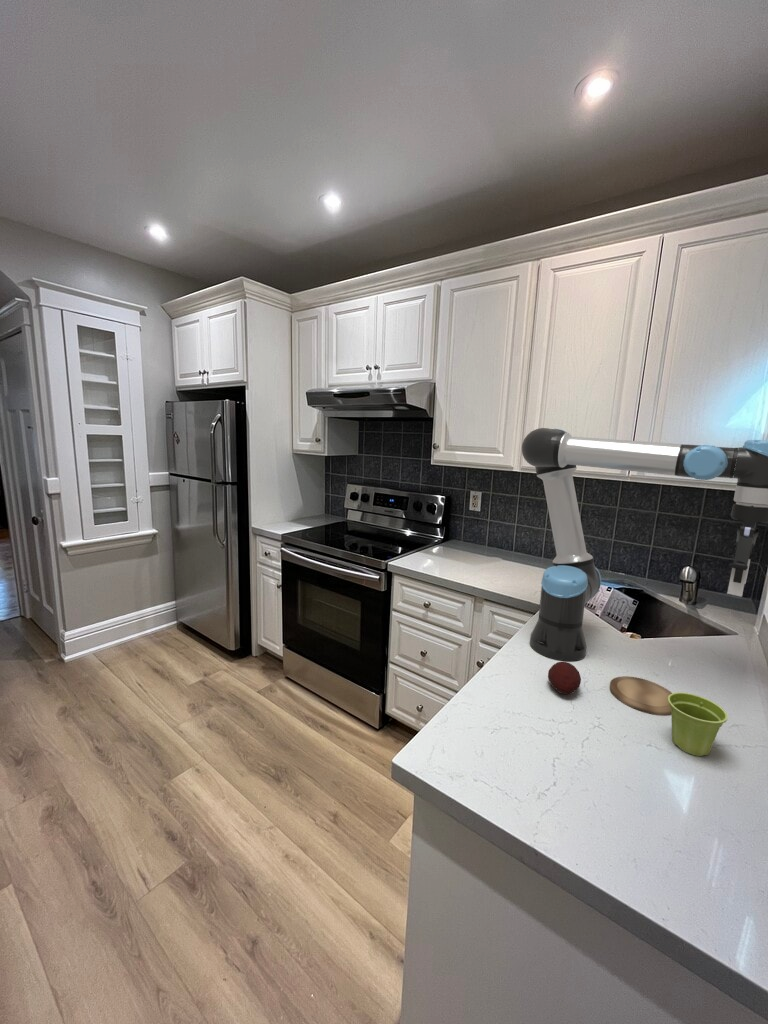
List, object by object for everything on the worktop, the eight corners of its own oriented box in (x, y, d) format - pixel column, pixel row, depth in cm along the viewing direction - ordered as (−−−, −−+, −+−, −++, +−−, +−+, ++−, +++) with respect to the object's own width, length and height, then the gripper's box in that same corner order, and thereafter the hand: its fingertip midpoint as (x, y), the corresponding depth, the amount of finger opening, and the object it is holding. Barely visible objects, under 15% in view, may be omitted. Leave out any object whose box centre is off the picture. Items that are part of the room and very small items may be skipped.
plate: (617, 707, 95) (618, 703, 95) (603, 675, 108) (604, 671, 108) (689, 720, 91) (689, 716, 91) (665, 686, 105) (666, 681, 104)
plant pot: (723, 771, 77) (731, 728, 76) (662, 750, 82) (668, 710, 81) (716, 741, 85) (723, 702, 84) (661, 724, 90) (667, 687, 88)
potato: (576, 681, 105) (579, 658, 104) (582, 704, 96) (585, 679, 95) (545, 675, 108) (548, 653, 107) (548, 697, 98) (550, 673, 97)
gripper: (773, 511, 90) (754, 605, 94) (774, 502, 108) (758, 581, 112) (728, 507, 95) (712, 596, 99) (737, 498, 113) (723, 574, 117)
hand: (736, 588), depth 105 cm, fingers open, 13 cm apart
